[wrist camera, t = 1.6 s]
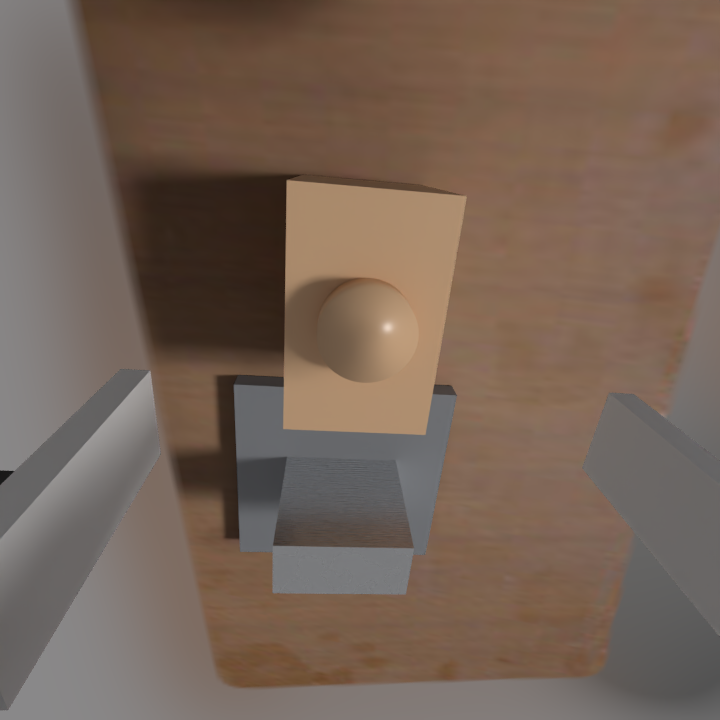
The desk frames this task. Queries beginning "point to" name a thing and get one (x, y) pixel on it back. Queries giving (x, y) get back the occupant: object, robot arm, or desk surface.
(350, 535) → the grey square plate
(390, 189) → the tan block with dome
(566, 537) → the desk surface
